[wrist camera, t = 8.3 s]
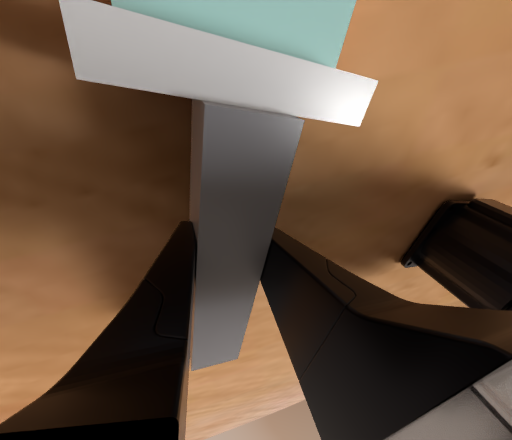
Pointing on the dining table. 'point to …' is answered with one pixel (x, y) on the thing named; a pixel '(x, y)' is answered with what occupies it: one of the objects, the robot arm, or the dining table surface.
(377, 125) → the dining table surface
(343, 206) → the dining table surface
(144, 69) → the pusher tool
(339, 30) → the tile
